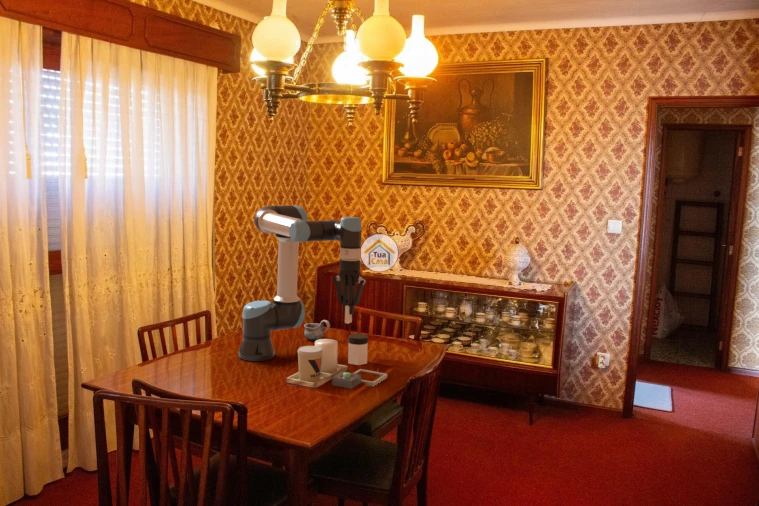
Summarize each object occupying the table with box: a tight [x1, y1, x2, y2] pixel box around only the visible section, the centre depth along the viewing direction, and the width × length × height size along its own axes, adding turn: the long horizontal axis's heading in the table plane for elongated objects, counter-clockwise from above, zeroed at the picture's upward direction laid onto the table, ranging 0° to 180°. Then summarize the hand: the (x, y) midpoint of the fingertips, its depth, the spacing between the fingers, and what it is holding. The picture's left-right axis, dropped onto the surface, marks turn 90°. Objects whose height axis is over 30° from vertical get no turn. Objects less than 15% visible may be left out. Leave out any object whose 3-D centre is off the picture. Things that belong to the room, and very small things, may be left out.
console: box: [331, 371, 362, 390], centre depth 226 cm, size 8×8×4 cm
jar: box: [347, 333, 369, 366], centre depth 253 cm, size 9×8×12 cm
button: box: [343, 371, 352, 378], centre depth 226 cm, size 3×3×4 cm
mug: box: [303, 319, 331, 341], centre depth 289 cm, size 10×12×10 cm
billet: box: [314, 338, 339, 374], centre depth 239 cm, size 9×9×12 cm
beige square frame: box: [353, 368, 388, 387], centre depth 235 cm, size 12×12×2 cm
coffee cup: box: [297, 345, 323, 383], centre depth 228 cm, size 9×9×12 cm
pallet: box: [285, 363, 349, 392], centre depth 235 cm, size 13×25×2 cm, turn 155°
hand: (348, 322), depth 224 cm, fingers closed
